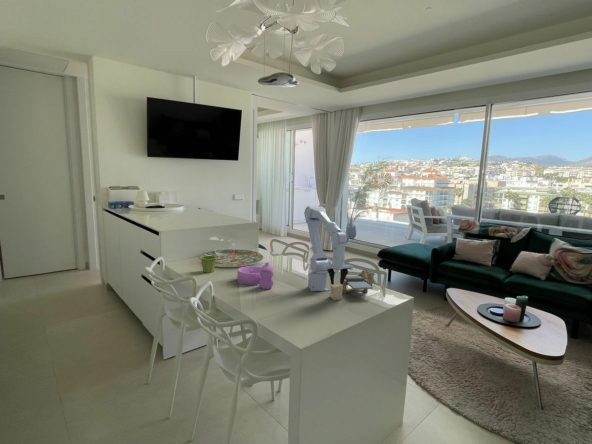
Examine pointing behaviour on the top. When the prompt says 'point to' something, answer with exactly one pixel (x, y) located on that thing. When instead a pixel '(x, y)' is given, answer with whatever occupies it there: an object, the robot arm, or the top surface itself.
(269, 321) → the top surface
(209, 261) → the plant pot
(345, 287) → the frame
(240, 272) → the container set
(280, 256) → the top surface
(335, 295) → the block
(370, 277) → the rock
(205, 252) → the top surface
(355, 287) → the trapdoor
